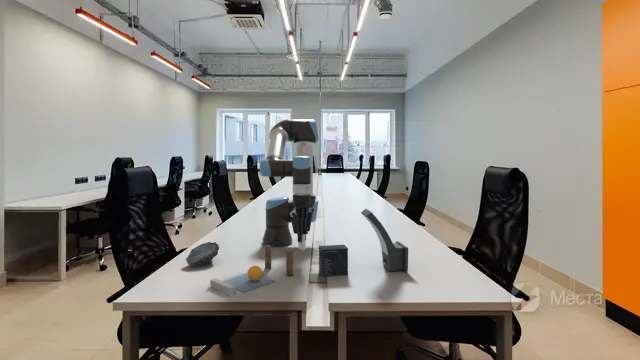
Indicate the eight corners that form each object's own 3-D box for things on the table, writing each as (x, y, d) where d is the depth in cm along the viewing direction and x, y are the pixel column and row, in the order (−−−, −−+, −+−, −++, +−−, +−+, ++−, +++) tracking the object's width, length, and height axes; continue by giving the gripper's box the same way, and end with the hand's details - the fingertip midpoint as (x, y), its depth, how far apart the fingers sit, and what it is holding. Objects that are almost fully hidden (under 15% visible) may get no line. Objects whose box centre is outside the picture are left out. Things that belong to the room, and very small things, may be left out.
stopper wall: (210, 286, 127) (210, 279, 126) (215, 284, 128) (215, 278, 128) (230, 295, 119) (230, 288, 118) (235, 294, 120) (235, 286, 120)
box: (344, 269, 145) (344, 244, 144) (348, 275, 139) (348, 248, 138) (318, 271, 143) (318, 245, 142) (321, 276, 137) (321, 249, 136)
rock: (226, 260, 157) (210, 251, 162) (223, 244, 153) (207, 237, 159) (197, 281, 146) (181, 271, 151) (193, 265, 142) (177, 256, 147)
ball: (250, 261, 134) (257, 270, 137) (241, 273, 131) (249, 282, 134) (261, 263, 131) (267, 273, 133) (251, 276, 127) (259, 285, 130)
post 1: (263, 268, 146) (263, 246, 146) (268, 266, 148) (268, 244, 148) (267, 269, 145) (267, 247, 144) (272, 267, 147) (272, 246, 146)
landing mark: (220, 282, 131) (220, 281, 131) (251, 272, 141) (251, 272, 141) (243, 292, 121) (243, 292, 121) (275, 281, 132) (275, 280, 132)
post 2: (285, 275, 138) (284, 252, 137) (289, 273, 140) (289, 250, 139) (289, 276, 136) (289, 253, 136) (294, 275, 138) (294, 252, 138)
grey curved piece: (358, 266, 150) (359, 207, 148) (398, 263, 152) (399, 206, 150) (366, 275, 139) (367, 212, 137) (408, 272, 142) (410, 211, 140)
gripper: (297, 196, 142) (297, 254, 145) (319, 192, 152) (318, 247, 155) (284, 194, 147) (284, 250, 150) (306, 191, 157) (306, 244, 160)
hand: (301, 249), depth 152 cm, fingers closed
